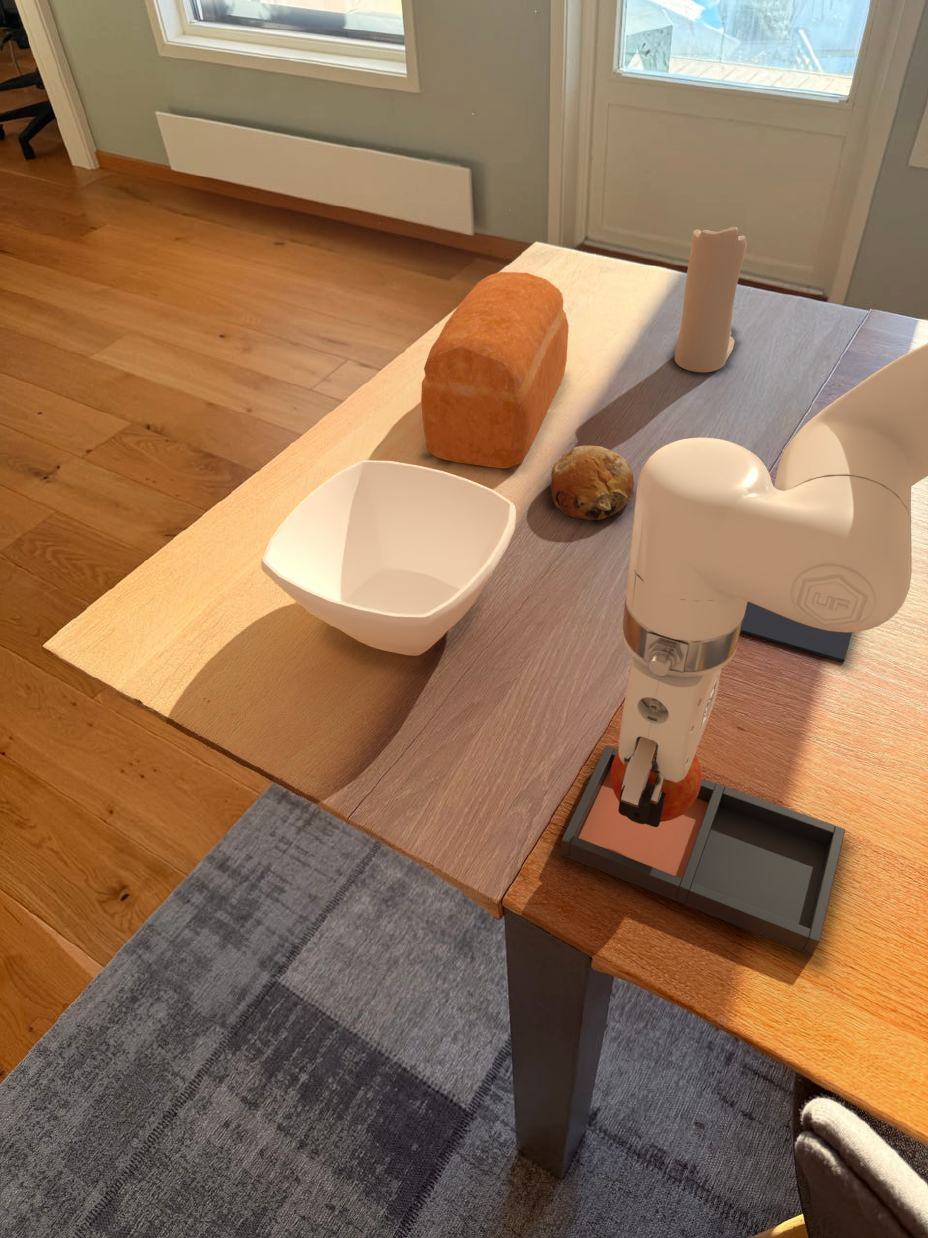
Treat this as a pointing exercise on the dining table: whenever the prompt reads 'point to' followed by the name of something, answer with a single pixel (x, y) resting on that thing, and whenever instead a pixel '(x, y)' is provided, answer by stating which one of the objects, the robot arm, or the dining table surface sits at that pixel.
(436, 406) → the bread
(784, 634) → the mat
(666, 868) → the tray
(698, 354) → the candle
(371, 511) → the bowl
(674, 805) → the fruit
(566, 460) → the bread roll
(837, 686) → the dining table surface
